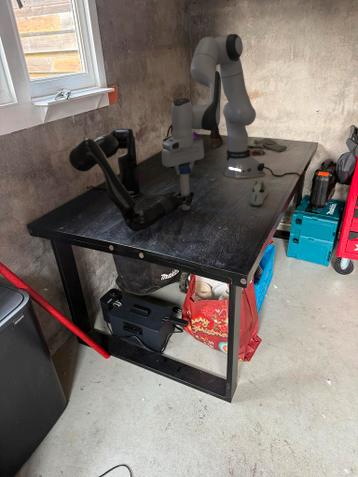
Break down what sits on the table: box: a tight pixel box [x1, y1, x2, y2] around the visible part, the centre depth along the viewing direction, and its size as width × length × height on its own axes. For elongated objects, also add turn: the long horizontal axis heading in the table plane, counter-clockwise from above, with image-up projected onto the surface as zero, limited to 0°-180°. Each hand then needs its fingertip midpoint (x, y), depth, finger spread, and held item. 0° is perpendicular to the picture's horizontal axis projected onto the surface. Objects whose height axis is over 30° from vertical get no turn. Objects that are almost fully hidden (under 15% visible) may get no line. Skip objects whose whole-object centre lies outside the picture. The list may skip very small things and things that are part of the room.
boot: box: [209, 125, 224, 149], centre depth 245 cm, size 9×24×20 cm, turn 168°
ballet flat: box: [249, 179, 269, 207], centre depth 158 cm, size 8×24×8 cm, turn 163°
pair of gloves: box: [247, 138, 288, 155], centre depth 230 cm, size 30×26×5 cm
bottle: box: [179, 173, 191, 211], centre depth 149 cm, size 4×4×19 cm
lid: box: [178, 165, 191, 174], centre depth 145 cm, size 5×5×2 cm
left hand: (188, 193), depth 152 cm, fingers closed on bottle, 4 cm apart
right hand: (184, 172), depth 145 cm, fingers closed on lid, 5 cm apart
